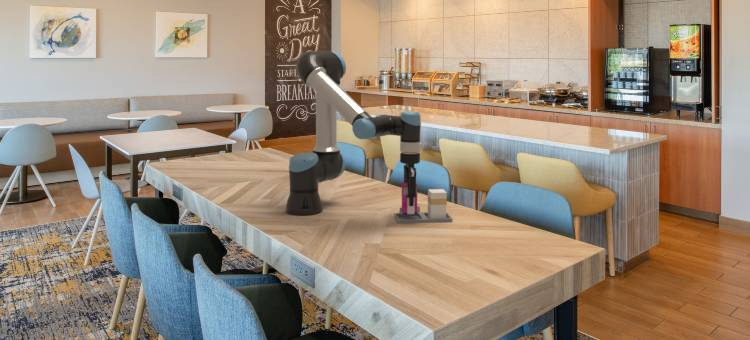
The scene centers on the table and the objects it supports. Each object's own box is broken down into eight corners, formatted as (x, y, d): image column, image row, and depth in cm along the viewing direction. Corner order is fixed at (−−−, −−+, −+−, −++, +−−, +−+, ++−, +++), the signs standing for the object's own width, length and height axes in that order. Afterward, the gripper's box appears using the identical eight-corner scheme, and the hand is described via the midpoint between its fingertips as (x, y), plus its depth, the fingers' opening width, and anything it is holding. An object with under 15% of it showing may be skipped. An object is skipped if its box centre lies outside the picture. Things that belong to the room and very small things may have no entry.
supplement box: (401, 210, 226) (401, 181, 224) (416, 210, 226) (416, 181, 224) (402, 214, 221) (402, 185, 218) (417, 214, 221) (418, 185, 219)
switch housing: (399, 215, 233) (399, 207, 233) (407, 211, 238) (407, 204, 238) (412, 217, 230) (412, 210, 230) (419, 214, 235) (419, 206, 235)
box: (430, 220, 222) (431, 193, 220) (427, 216, 228) (428, 189, 226) (446, 220, 223) (447, 192, 221) (442, 216, 229) (443, 189, 226)
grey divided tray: (398, 225, 219) (398, 220, 218) (394, 218, 229) (394, 213, 228) (452, 224, 221) (452, 218, 221) (446, 217, 231) (446, 211, 231)
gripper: (424, 156, 210) (423, 217, 215) (415, 148, 229) (414, 204, 233) (404, 156, 209) (403, 218, 214) (396, 148, 228) (395, 205, 232)
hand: (409, 211), depth 223 cm, fingers closed on supplement box, 6 cm apart
